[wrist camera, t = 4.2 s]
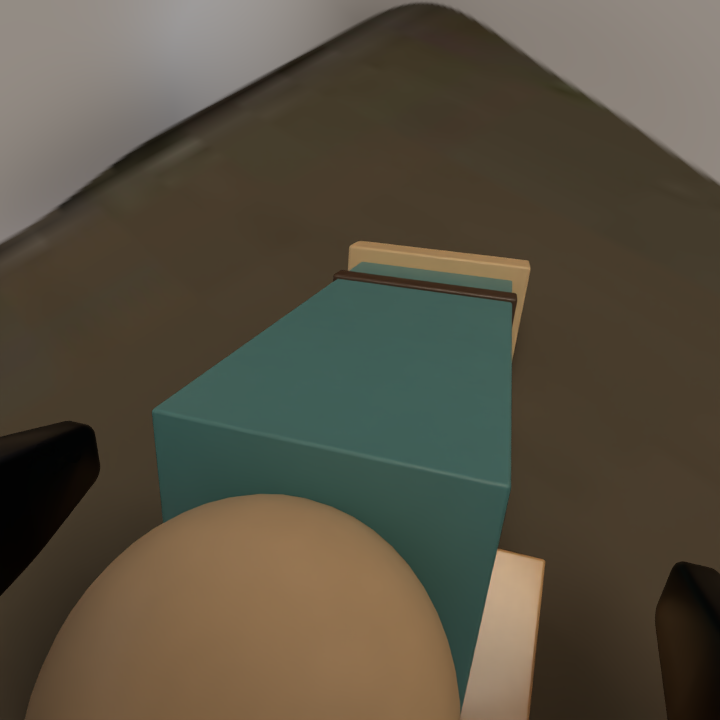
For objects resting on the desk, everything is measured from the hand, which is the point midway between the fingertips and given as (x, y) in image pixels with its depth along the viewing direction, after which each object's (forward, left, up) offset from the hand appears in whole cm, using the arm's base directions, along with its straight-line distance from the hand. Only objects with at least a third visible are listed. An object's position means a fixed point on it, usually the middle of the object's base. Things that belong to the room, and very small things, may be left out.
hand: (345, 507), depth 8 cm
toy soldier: (+1, +1, -8) cm, 8 cm away
